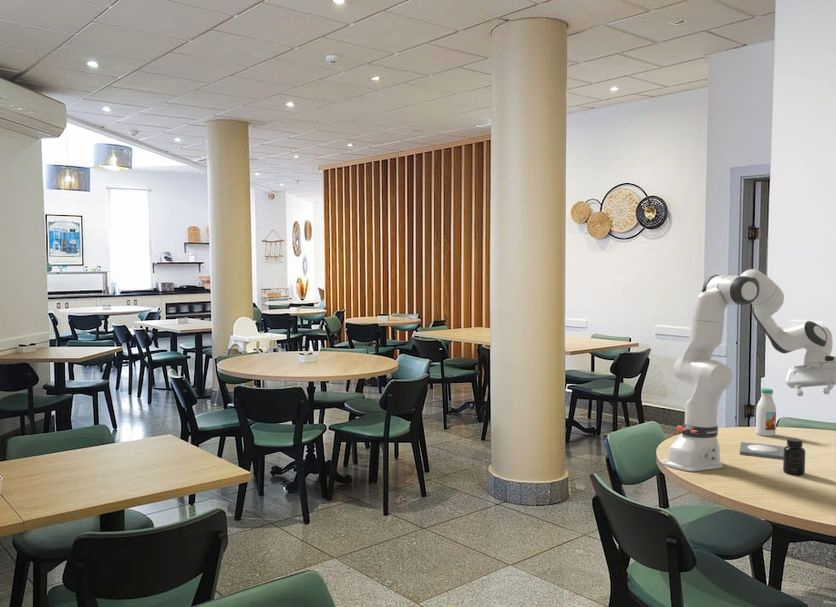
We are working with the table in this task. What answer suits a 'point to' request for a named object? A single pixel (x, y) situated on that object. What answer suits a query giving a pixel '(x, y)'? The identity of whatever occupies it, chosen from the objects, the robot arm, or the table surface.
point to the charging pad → (762, 450)
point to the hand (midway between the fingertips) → (812, 394)
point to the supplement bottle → (794, 457)
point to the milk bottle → (766, 414)
